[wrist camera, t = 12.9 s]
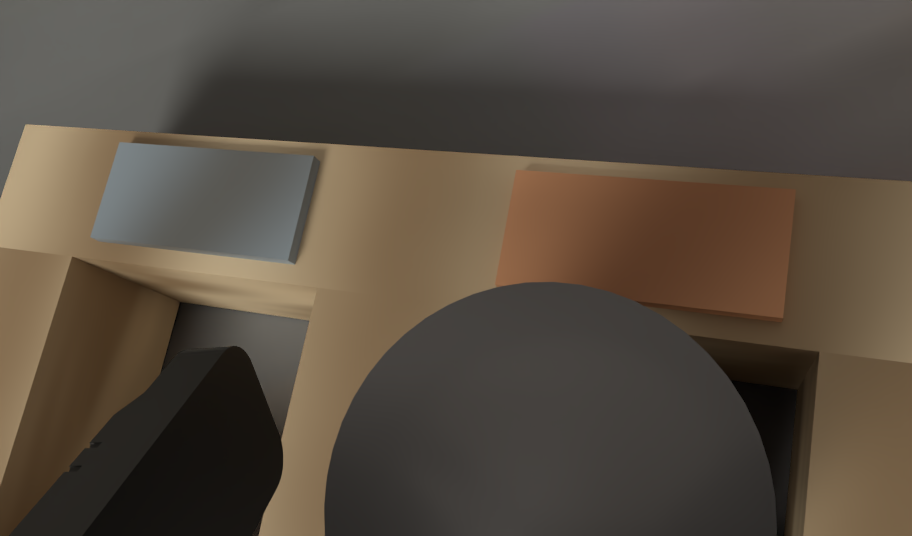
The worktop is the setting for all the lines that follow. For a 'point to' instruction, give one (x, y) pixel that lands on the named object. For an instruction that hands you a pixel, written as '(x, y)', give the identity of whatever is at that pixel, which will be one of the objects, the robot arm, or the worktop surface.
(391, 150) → the socket board
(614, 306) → the plug
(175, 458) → the robot arm
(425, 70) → the worktop surface
